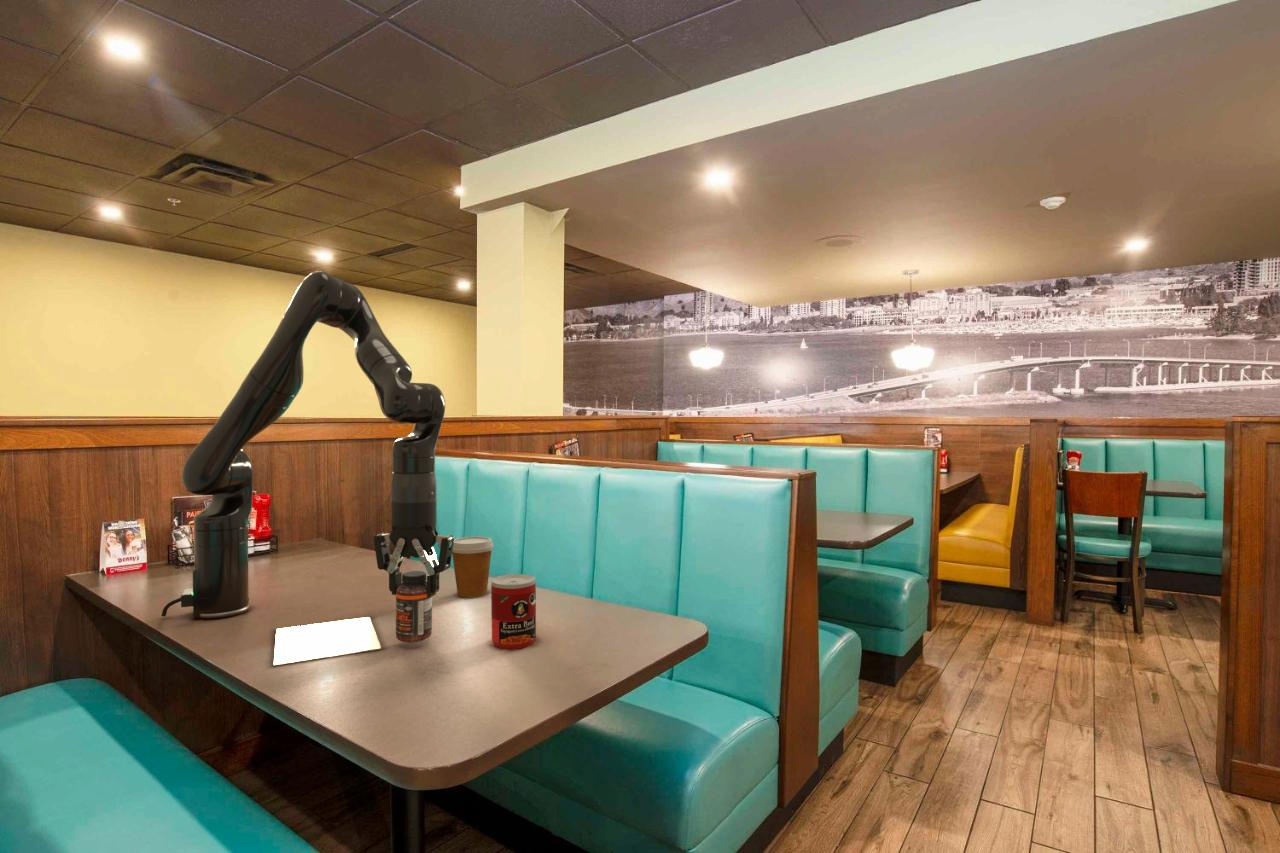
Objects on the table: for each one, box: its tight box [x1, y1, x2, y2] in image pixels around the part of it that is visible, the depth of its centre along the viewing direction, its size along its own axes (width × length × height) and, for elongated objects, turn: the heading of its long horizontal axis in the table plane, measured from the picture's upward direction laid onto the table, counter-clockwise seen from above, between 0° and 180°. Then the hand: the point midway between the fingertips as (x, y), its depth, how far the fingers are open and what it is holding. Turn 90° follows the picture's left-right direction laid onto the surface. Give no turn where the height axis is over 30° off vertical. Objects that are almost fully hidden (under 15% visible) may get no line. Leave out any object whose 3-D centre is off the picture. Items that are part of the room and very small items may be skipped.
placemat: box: [273, 616, 382, 667], centre depth 118 cm, size 16×20×1 cm
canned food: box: [490, 573, 537, 650], centre depth 116 cm, size 8×8×11 cm
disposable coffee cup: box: [452, 536, 495, 599], centre depth 147 cm, size 10×10×12 cm
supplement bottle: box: [395, 570, 433, 643], centre depth 115 cm, size 6×6×11 cm
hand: (414, 594), depth 115 cm, fingers closed on supplement bottle, 6 cm apart
